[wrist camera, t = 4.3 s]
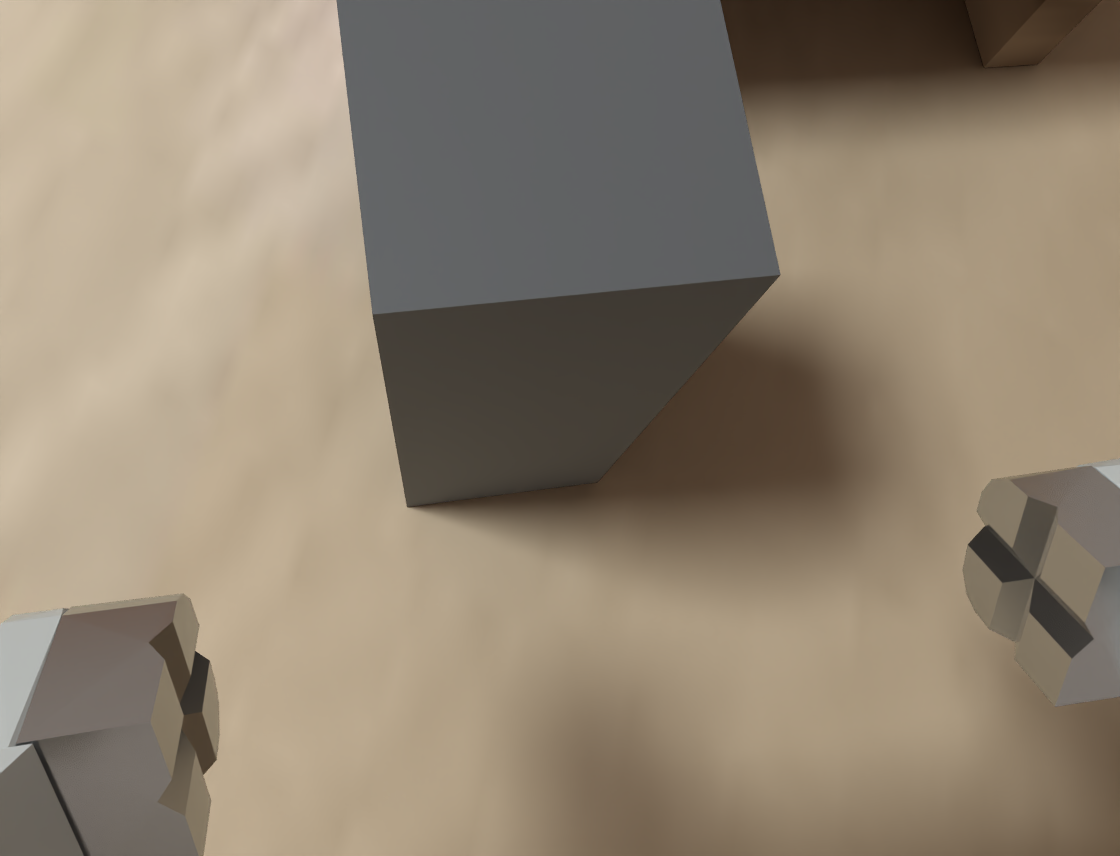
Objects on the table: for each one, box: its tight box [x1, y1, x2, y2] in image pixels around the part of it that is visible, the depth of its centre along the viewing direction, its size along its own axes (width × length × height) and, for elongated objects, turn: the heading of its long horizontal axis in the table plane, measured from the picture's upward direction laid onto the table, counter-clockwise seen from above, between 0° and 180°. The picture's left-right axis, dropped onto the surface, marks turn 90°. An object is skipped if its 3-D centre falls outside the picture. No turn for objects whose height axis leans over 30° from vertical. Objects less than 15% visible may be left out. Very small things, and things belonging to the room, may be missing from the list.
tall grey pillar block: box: [337, 0, 780, 507], centre depth 15 cm, size 4×5×11 cm
